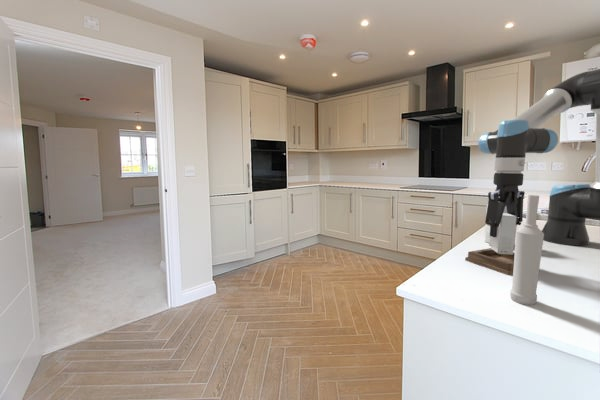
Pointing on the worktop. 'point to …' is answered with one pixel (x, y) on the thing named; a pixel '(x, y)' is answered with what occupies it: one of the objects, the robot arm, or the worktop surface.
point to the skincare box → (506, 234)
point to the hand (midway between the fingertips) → (501, 245)
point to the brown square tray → (492, 260)
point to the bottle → (527, 256)
